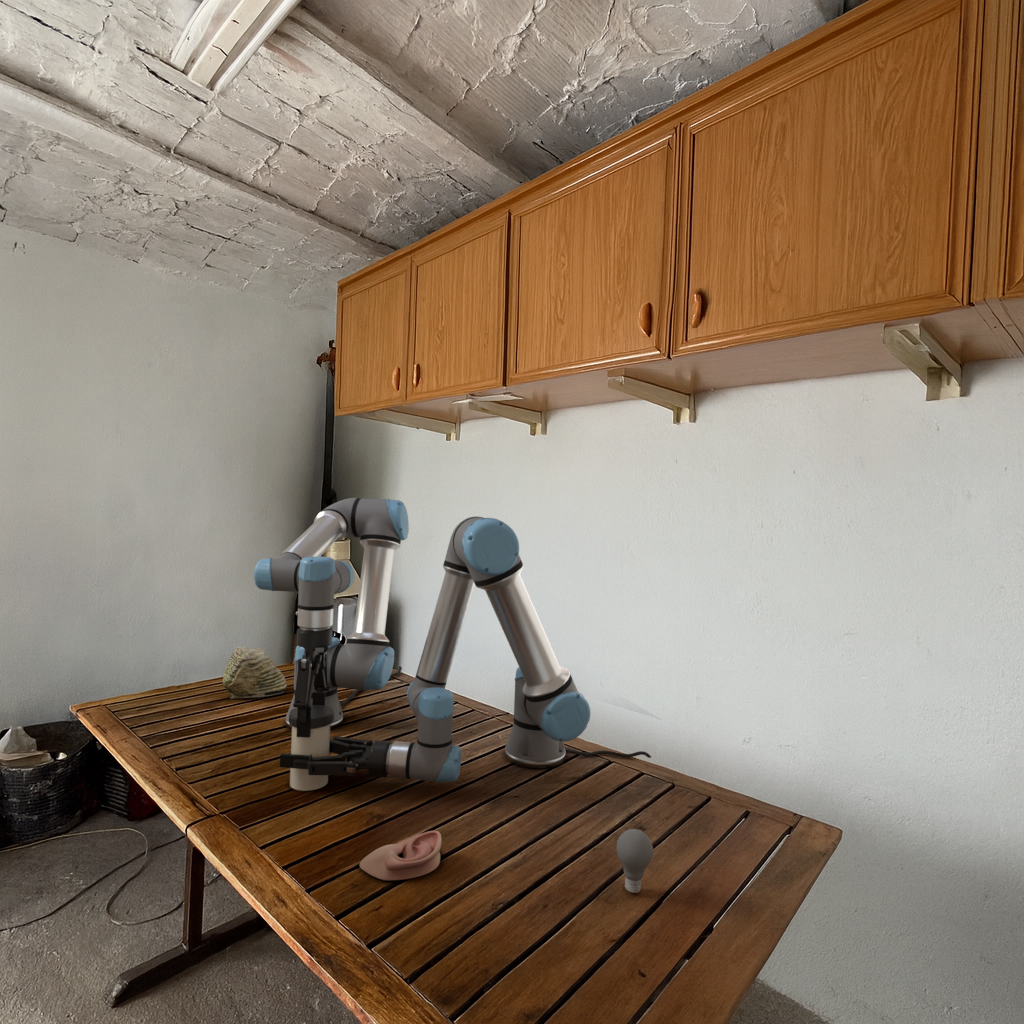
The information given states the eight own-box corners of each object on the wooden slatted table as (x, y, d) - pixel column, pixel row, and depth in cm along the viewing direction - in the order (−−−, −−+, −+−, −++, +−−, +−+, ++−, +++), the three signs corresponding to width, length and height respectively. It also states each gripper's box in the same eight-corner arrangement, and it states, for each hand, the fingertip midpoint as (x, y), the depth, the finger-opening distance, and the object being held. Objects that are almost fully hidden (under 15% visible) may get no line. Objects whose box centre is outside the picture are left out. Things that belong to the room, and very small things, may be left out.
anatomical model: (352, 851, 106) (379, 818, 118) (351, 875, 106) (379, 839, 118) (427, 864, 104) (448, 829, 115) (426, 888, 104) (447, 850, 115)
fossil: (218, 695, 195) (220, 647, 195) (278, 685, 208) (279, 640, 207) (228, 703, 189) (230, 653, 188) (289, 692, 201) (290, 645, 201)
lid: (300, 712, 145) (301, 703, 145) (340, 716, 144) (340, 706, 144) (280, 726, 136) (281, 716, 136) (322, 730, 135) (323, 720, 135)
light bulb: (610, 879, 108) (613, 822, 108) (644, 879, 109) (647, 822, 109) (619, 902, 102) (622, 840, 102) (655, 901, 103) (658, 840, 103)
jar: (304, 771, 145) (307, 705, 145) (335, 778, 143) (338, 710, 143) (281, 786, 138) (284, 716, 137) (313, 793, 135) (316, 722, 135)
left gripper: (314, 617, 151) (310, 711, 151) (279, 637, 129) (275, 746, 129) (345, 618, 151) (341, 712, 151) (316, 638, 129) (311, 748, 129)
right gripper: (375, 798, 128) (267, 790, 130) (400, 757, 149) (307, 750, 151) (377, 762, 128) (268, 754, 130) (402, 725, 149) (308, 719, 151)
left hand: (311, 728), depth 140 cm, fingers closed on lid, 9 cm apart
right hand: (289, 752), depth 140 cm, fingers closed on jar, 8 cm apart
